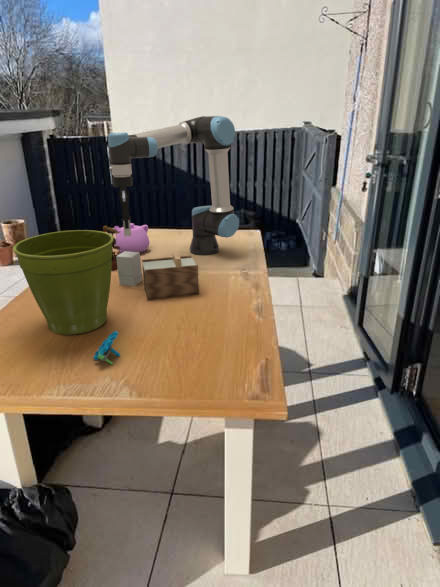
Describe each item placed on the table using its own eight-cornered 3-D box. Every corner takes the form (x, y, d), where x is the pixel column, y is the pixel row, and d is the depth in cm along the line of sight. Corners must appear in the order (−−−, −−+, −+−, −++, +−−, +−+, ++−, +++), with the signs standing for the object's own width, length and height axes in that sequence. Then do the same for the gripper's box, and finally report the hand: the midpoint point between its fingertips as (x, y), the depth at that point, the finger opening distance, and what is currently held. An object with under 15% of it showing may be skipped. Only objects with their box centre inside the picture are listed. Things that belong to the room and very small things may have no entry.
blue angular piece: (99, 342, 128) (118, 323, 124) (114, 353, 130) (134, 335, 125) (85, 365, 119) (105, 346, 114) (102, 378, 120) (123, 359, 116)
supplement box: (142, 280, 181) (140, 252, 176) (134, 286, 174) (131, 257, 169) (127, 278, 183) (124, 250, 178) (118, 284, 176) (115, 255, 172)
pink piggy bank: (133, 243, 234) (130, 216, 228) (159, 249, 223) (157, 221, 218) (105, 252, 220) (102, 223, 214) (132, 259, 209) (129, 229, 203)
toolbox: (192, 282, 178) (191, 255, 173) (198, 294, 166) (197, 265, 161) (144, 287, 173) (142, 259, 168) (147, 299, 161) (145, 270, 157)
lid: (192, 260, 173) (191, 250, 171) (197, 268, 163) (197, 258, 161) (142, 264, 168) (141, 254, 166) (145, 273, 158) (144, 263, 157)
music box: (126, 263, 203) (121, 222, 193) (122, 272, 193) (117, 230, 184) (94, 263, 202) (88, 223, 193) (89, 273, 192) (82, 231, 183)
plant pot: (116, 300, 161) (107, 226, 150) (128, 335, 135) (119, 249, 124) (32, 312, 152) (16, 234, 141) (28, 352, 126) (8, 260, 115)
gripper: (112, 174, 167) (118, 232, 176) (111, 178, 155) (118, 240, 164) (131, 173, 168) (136, 231, 177) (132, 177, 156) (137, 239, 165)
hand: (127, 235), depth 171 cm, fingers closed
